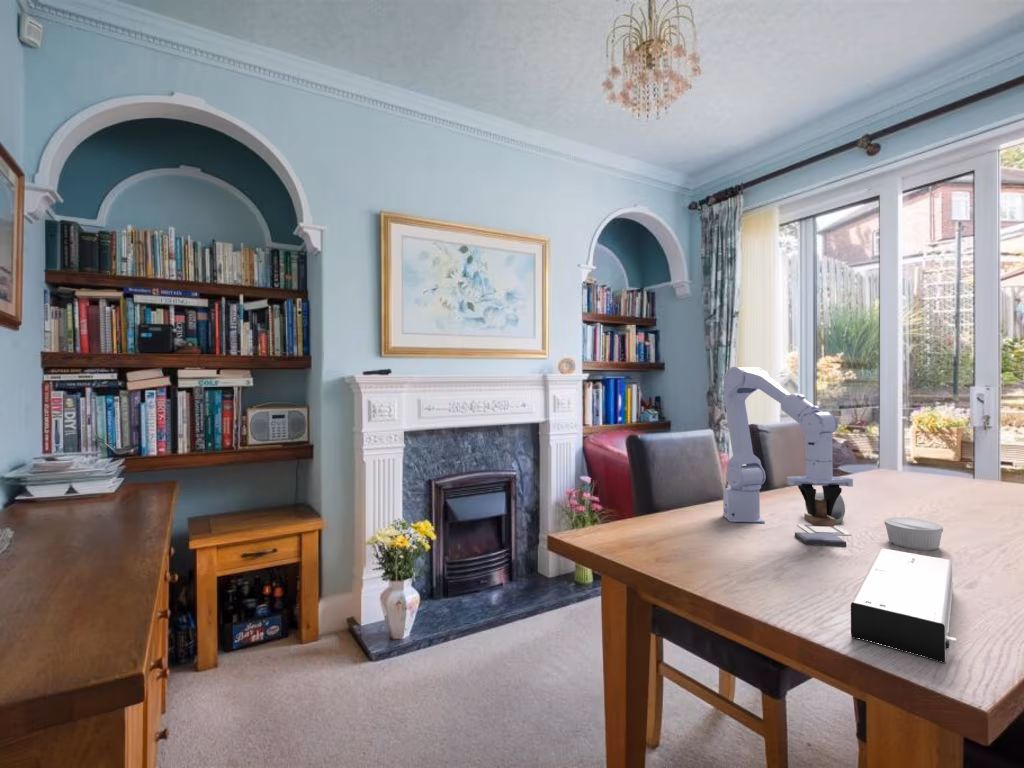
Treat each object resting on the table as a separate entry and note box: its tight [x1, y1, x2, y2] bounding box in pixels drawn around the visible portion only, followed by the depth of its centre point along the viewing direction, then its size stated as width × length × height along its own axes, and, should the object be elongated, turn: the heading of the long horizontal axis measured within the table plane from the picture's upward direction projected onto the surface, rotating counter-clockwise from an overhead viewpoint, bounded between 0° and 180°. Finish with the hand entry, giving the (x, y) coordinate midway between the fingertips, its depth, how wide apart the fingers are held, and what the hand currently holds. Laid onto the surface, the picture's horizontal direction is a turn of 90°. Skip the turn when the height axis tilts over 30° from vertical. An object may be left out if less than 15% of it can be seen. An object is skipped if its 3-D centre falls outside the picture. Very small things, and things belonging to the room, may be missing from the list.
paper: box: [797, 524, 852, 536], centre depth 136 cm, size 10×8×1 cm
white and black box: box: [850, 547, 957, 663], centre depth 88 cm, size 34×12×6 cm, turn 138°
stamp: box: [803, 498, 837, 527], centre depth 127 cm, size 5×5×6 cm
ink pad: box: [794, 531, 847, 547], centre depth 127 cm, size 9×7×1 cm
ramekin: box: [884, 516, 944, 551], centre depth 124 cm, size 11×11×5 cm
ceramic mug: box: [804, 491, 846, 525], centre depth 147 cm, size 11×8×8 cm
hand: (819, 514), depth 127 cm, fingers closed on stamp, 3 cm apart
